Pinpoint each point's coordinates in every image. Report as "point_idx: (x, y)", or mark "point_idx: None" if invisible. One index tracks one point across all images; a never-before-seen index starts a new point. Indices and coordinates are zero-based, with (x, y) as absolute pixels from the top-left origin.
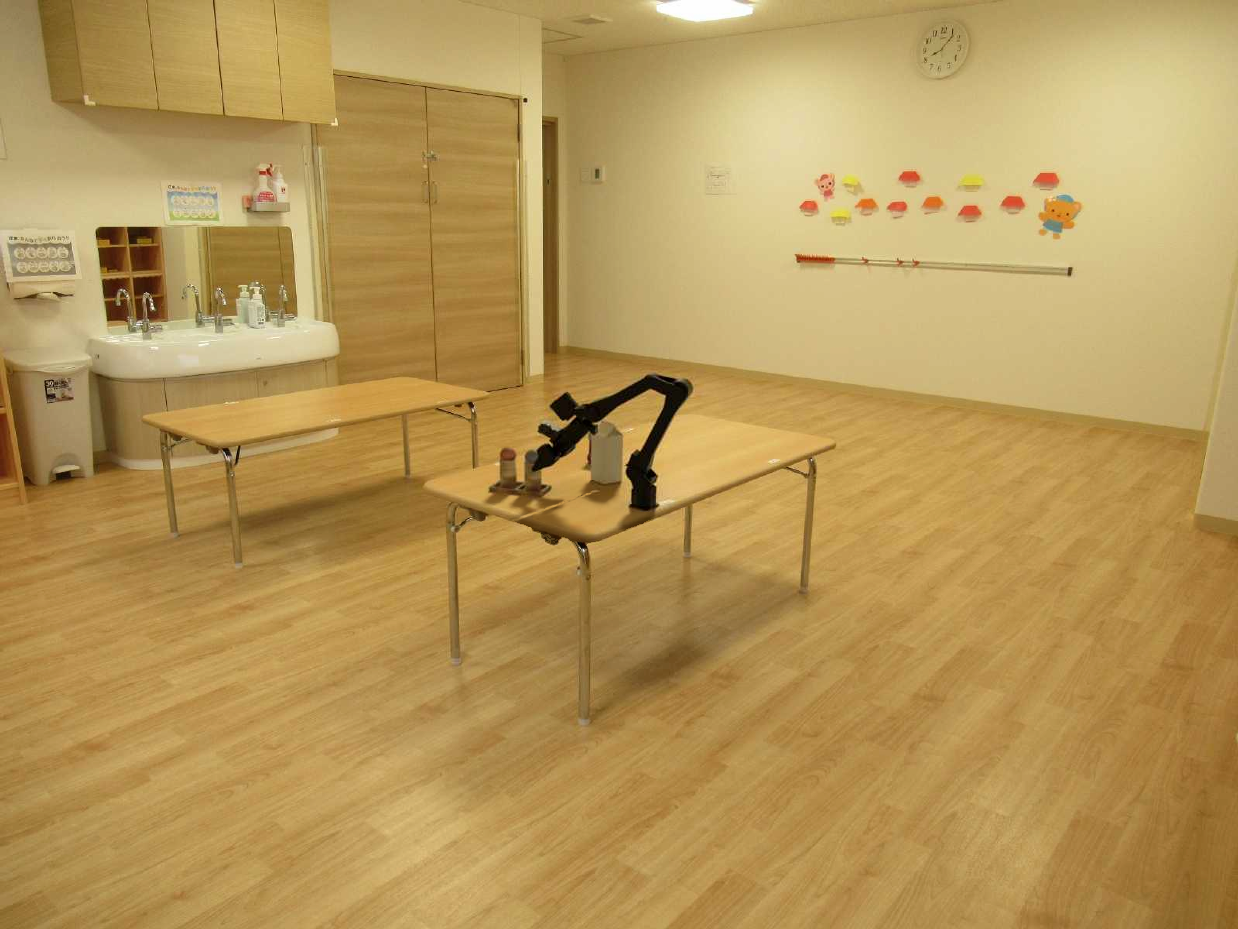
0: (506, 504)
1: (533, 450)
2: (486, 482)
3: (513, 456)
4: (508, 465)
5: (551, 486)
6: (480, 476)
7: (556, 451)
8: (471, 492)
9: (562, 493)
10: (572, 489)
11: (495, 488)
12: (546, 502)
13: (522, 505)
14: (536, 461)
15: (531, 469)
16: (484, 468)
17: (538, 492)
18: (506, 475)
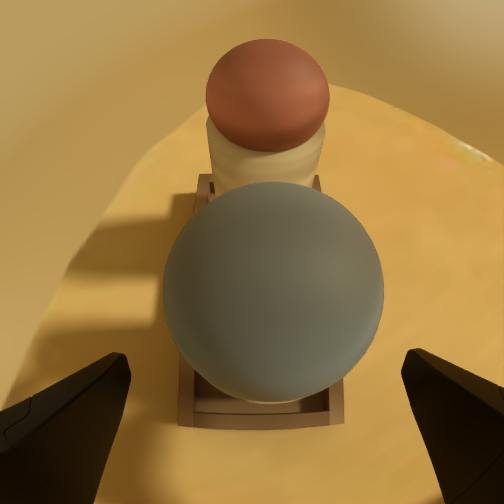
0: (87, 297)
1: (249, 264)
2: (325, 147)
3: (237, 127)
4: (211, 159)
5: (341, 422)
6: (366, 124)
7: (493, 481)
8: (201, 147)
9: (322, 476)
10: (395, 479)
11: (196, 198)
12: (154, 453)
13: (87, 361)
14: (25, 406)
15: (113, 356)
16: (423, 122)
17: (179, 410)
18: (215, 193)
